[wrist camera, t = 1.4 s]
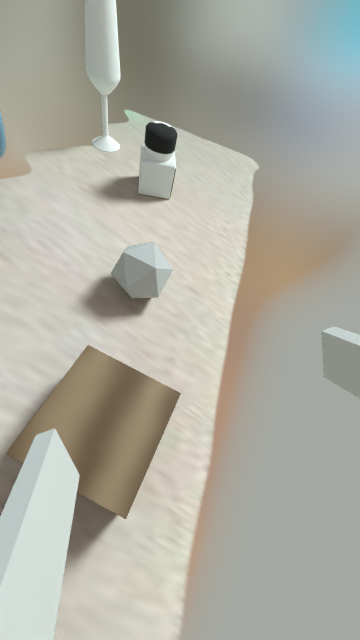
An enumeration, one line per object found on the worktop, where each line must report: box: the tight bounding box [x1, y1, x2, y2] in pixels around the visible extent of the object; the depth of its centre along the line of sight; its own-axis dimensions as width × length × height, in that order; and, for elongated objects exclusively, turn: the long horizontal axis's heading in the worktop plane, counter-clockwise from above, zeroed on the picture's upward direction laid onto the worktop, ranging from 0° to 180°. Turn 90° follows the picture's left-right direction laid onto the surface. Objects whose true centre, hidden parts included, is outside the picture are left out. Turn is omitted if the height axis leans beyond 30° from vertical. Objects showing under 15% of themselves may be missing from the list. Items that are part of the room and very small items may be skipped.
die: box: [111, 242, 173, 299], centre depth 37 cm, size 8×9×10 cm
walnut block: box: [6, 345, 181, 519], centre depth 27 cm, size 12×12×6 cm
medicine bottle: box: [138, 121, 177, 199], centre depth 50 cm, size 7×7×12 cm
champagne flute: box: [85, 0, 120, 152], centre depth 49 cm, size 7×7×24 cm
